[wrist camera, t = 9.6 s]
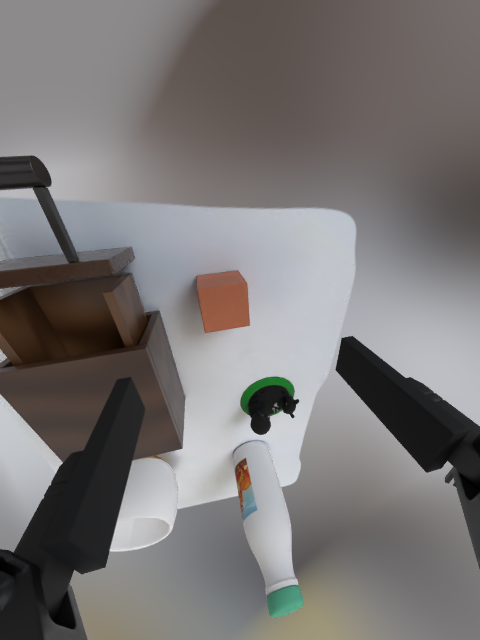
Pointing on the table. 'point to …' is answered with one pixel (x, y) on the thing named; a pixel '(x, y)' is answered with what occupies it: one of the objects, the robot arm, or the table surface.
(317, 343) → the table surface
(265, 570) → the milk bottle
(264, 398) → the toy figurine
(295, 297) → the table surface
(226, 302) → the block
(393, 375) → the robot arm
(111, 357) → the cabinet
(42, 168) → the drawer
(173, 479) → the cup
